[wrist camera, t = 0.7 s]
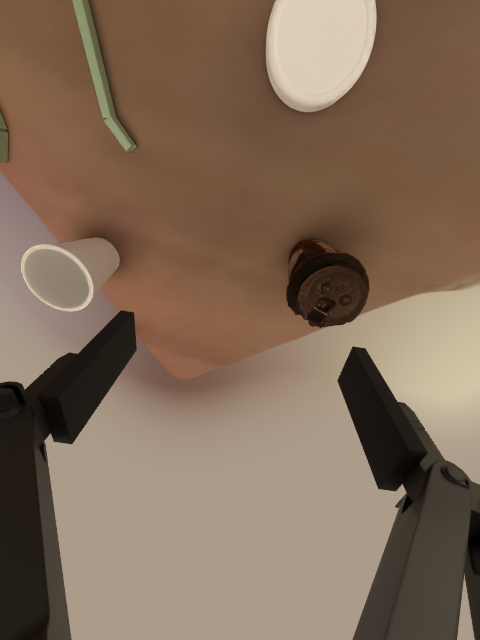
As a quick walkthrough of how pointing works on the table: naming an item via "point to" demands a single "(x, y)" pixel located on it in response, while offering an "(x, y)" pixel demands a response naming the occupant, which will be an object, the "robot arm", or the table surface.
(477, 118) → the table surface
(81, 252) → the dixie cup
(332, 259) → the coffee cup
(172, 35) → the table surface
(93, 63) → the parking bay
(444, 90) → the table surface
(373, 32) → the coaster
